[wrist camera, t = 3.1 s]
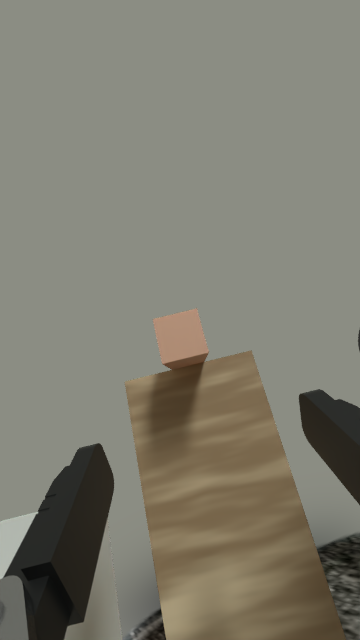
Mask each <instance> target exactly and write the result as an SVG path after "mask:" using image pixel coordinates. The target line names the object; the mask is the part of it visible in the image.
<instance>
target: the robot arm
mask: <svg viewBox="0 0 360 640" xmlns="http://www.w3.org/2000/svg"><path fill="white" fill-rule="evenodd" d="M358 338H359V339H358V345H359V350H360V330H359V337H358ZM299 403H300V412H301V420H302V428H303V431H304V434H305V436H306V438H307V440H308V442H309V443H310V444H311V446H312V447H313V448H314V449H315V451H316V452H317V453H318V454H319V455H320V457H321V458H322V459H323V460H324V462H325V463H326V464H327V465H328V467H329V468H330V469H331V470H332V471H333V472H334V474H335V475H336V476H337V477H338V479H339V480H340V481H341V483H342V484H343V485H344V486H345V487H346V489H347V490H348V491H349V492H350V493H351V495H352V496H353V497H354V499H355V500H356V501H357V502H358V503H359V505H360V408H358V407H357V406H355V405H353V404H350V403H348V402H345V401H343V400H340V399H339V400H334V399H333V398H332V397H330V396H329V395H328V394H327V393H325V392H324V391H323V390H320V389H318V390H314V391H310V392H306V393H302V394H300V395H299ZM113 491H114V478H113V473H112V470H111V468H110V465H109V463H108V460H107V458H106V455H105V452H104V450H103V447H102V445H101V444H99V443H98V444H94V445H90V446H86V447H82V448H79V449H78V450H77V452H76V454H75V456H74V458H73V460H72V462H71V464H70V466H66V467H65V468H64V469H63V470H62V471H61V473H60V474H59V475H58V476H57V477H56V478H55V480H54V481H53V483H52V485H51V486H50V488H49V491H48V492H47V494H46V496H45V500H43V502H42V504H41V506H40V508H39V510H38V514H36V515H35V517H34V519H33V521H32V523H31V525H30V527H29V529H28V531H27V533H26V535H25V537H24V538H23V540H22V542H21V544H20V546H19V548H18V550H17V552H16V554H15V556H14V558H13V560H12V562H11V564H10V566H9V567H8V569H7V571H6V573H5V575H4V577H3V578H2V579H0V640H64V638H65V634H66V630H67V627H68V626H70V625H74V624H78V623H82V622H84V619H85V614H86V610H87V606H88V601H89V597H90V592H91V588H92V584H93V579H94V575H95V570H96V566H97V562H98V557H99V553H100V549H101V544H102V540H103V535H104V531H105V527H106V522H107V518H108V513H109V509H110V504H111V500H112V496H113Z"/></svg>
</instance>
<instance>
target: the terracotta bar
mask: <svg viewBox="0 0 360 640" xmlns="http://www.w3.org/2000/svg"><path fill="white" fill-rule="evenodd" d="M153 322H154V327H155V332H156V336H157V341H158V346H159V350H160V356H161V360H162V364H163V365H165V366H167V367H168V368H170V369H172V370H174V369H178V368H182V367H186V366H190V365H194V364H198V363H202V362H204V361H205V359H206V357H207V355H208V353H209V351H208V347H207V344H206V340H205V336H204V333H203V329H202V325H201V322H200V318H199V314H198V311H197V308H196V309H192V310H188V311H184V312H180V313H176V314H172V315H168V316H164V317H160V318H155V319H153Z"/></svg>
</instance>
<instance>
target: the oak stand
mask: <svg viewBox="0 0 360 640" xmlns="http://www.w3.org/2000/svg"><path fill="white" fill-rule="evenodd" d="M125 387H126V393H127V399H128V405H129V412H130V418H131V424H132V430H133V436H134V442H135V448H136V455H137V461H138V467H139V474H140V479H141V486H142V492H143V498H144V504H145V511H146V517H147V523H148V530H149V536H150V542H151V548H152V555H153V561H154V567H155V573H156V579H157V586H158V592H159V598H160V604H161V611H162V617H163V623H164V629H165V635H166V640H346V638H345V635H344V632H343V628H342V625H341V622H340V619H339V616H338V613H337V610H336V607H335V604H334V601H333V598H332V595H331V592H330V589H329V586H328V583H327V580H326V577H325V574H324V570H323V567H322V564H321V561H320V558H319V555H318V552H317V549H316V546H315V543H314V540H313V537H312V534H311V531H310V528H309V525H308V522H307V519H306V516H305V513H304V510H303V506H302V503H301V500H300V497H299V494H298V491H297V488H296V485H295V482H294V479H293V476H292V473H291V470H290V467H289V464H288V461H287V458H286V455H285V451H284V449H283V445H282V442H281V439H280V436H279V433H278V430H277V427H276V424H275V421H274V418H273V415H272V412H271V409H270V406H269V403H268V400H267V397H266V393H265V390H264V387H263V384H262V381H261V378H260V375H259V372H258V369H257V366H256V363H255V360H254V357H253V354H252V351H247V352H243V353H239V354H235V355H231V356H227V357H223V358H219V359H215V360H210V361H206V362H202V363H198V364H194V365H190V366H186V367H182V368H178V369H174V370H170V371H166V372H162V373H158V374H154V375H150V376H145V377H141V378H137V379H133V380H130V381H126V382H125Z"/></svg>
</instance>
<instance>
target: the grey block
mask: <svg viewBox="0 0 360 640" xmlns="http://www.w3.org/2000/svg"><path fill="white" fill-rule="evenodd" d="M36 514H38V512H35V513H31V514H27V515H23V516H19V517H15V518H11V519H7V520H3V521H1V522H0V579H2V578H3V577H4V575H5V573H6V571H7V569H8V567H9V566H10V564H11V562H12V560H13V558H14V556H15V554H16V552H17V550H18V548H19V546H20V544H21V542H22V540H23V538H24V537H25V535H26V533H27V531H28V529H29V527H30V525H31V523H32V521H33V519H34V517H35V515H36ZM113 568H114V567H113V559H112V551H111V542H110V535H109V526H108V518H107V522H106V527H105V531H104V535H103V540H102V544H101V549H100V553H99V557H98V562H97V566H96V570H95V575H94V579H93V584H92V588H91V592H90V597H89V601H88V606H87V610H86V614H85V619H84V622H82V623H78V624H74V625H70V626H68V627H67V630H66V634H65V638H64V640H122V634H121V626H120V617H119V609H118V601H117V592H116V584H115V577H114V569H113Z"/></svg>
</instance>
